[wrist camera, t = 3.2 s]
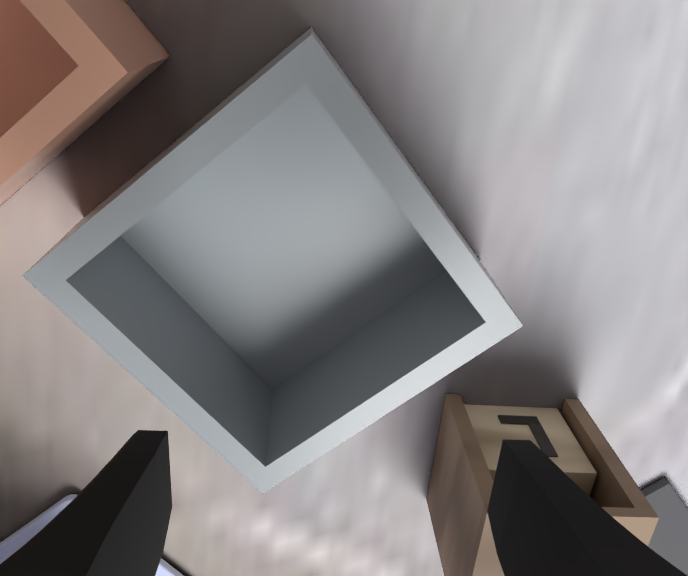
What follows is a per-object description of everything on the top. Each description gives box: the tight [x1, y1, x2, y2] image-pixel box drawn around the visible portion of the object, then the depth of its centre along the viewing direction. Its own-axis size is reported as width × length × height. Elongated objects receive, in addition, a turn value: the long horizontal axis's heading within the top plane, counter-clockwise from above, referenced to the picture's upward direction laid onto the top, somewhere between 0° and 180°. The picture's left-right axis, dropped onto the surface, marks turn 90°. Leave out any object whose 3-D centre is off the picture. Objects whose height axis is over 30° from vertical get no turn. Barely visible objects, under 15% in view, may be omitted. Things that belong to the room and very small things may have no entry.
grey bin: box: [23, 27, 523, 494], centre depth 20 cm, size 10×10×5 cm
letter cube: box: [464, 404, 597, 496], centre depth 25 cm, size 4×4×4 cm
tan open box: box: [427, 394, 659, 576], centre depth 24 cm, size 6×6×6 cm
